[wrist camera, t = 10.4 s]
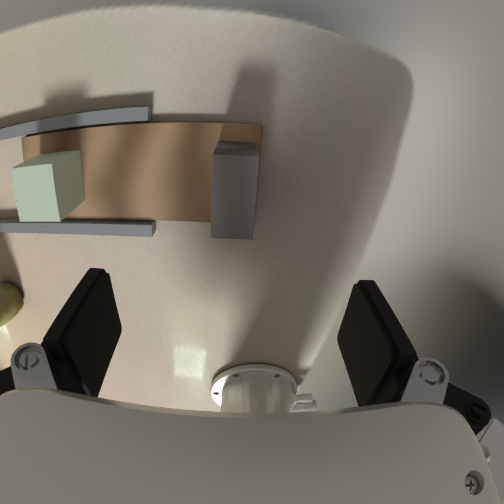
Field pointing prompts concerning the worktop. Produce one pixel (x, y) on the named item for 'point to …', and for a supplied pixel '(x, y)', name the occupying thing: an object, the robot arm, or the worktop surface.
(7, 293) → the fennel bulb
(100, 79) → the worktop surface
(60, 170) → the block
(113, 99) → the worktop surface
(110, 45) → the worktop surface
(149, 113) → the lane rails
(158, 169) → the strip
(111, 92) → the worktop surface
